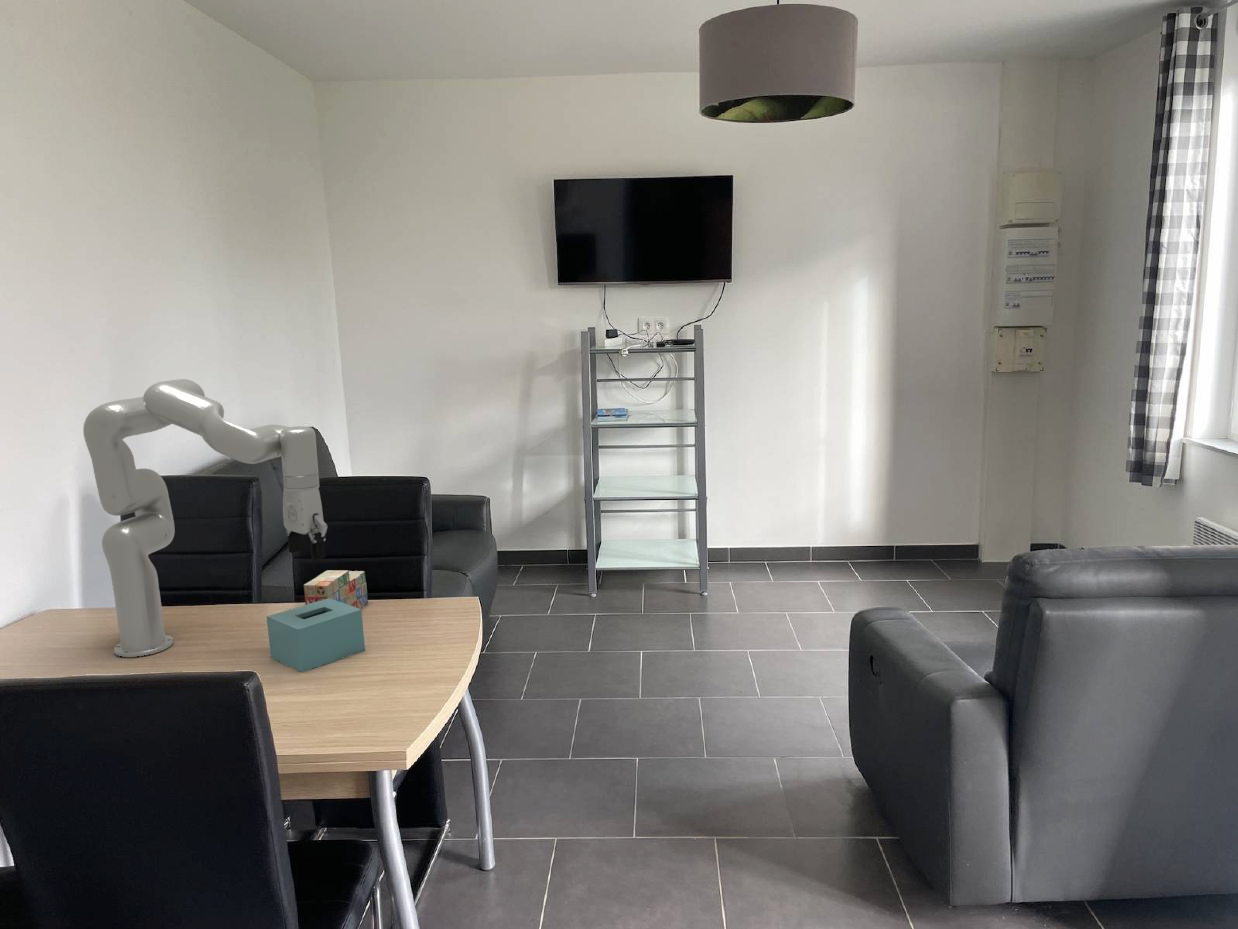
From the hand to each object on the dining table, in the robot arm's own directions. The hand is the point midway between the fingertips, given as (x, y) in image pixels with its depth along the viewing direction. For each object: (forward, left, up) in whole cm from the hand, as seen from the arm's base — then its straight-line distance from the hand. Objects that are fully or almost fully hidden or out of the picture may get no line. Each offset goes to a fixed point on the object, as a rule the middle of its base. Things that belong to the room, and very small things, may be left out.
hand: (307, 555), depth 203 cm
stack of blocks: (-19, +18, -24) cm, 35 cm away
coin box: (0, 0, -24) cm, 24 cm away
